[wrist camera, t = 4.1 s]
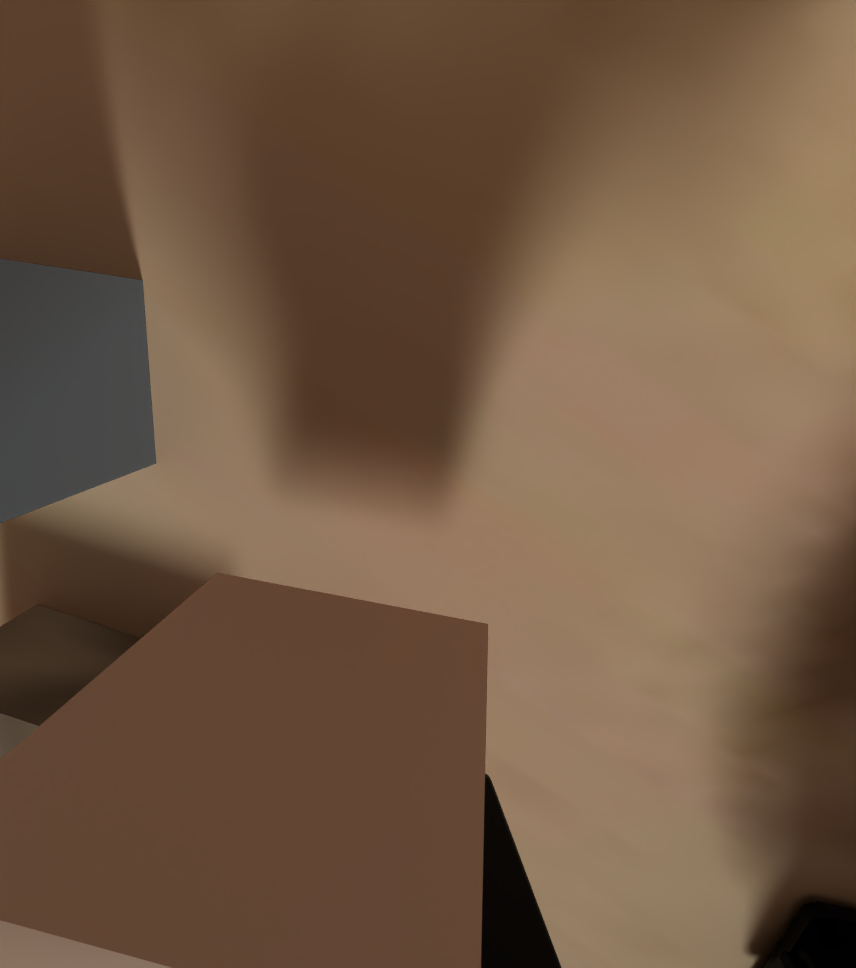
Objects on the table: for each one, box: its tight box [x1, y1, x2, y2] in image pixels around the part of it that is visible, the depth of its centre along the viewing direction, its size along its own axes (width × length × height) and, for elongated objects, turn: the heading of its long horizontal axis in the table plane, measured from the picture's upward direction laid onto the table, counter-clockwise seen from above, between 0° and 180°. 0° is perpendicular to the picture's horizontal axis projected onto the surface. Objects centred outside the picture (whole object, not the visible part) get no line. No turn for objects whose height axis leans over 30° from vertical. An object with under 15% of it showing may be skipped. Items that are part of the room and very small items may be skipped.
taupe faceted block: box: [0, 605, 141, 760], centre depth 15 cm, size 8×8×4 cm
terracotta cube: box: [0, 573, 488, 968], centre depth 7 cm, size 5×5×5 cm
